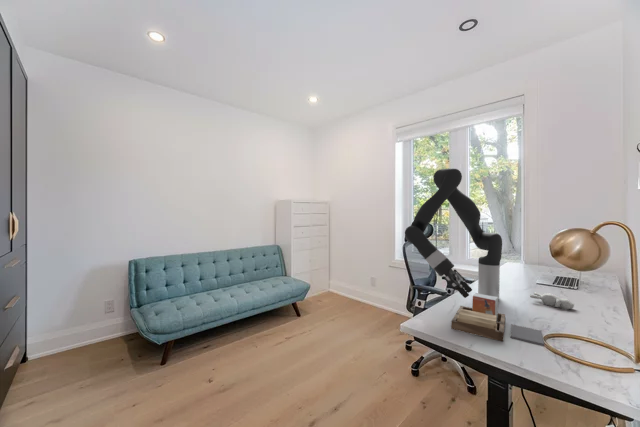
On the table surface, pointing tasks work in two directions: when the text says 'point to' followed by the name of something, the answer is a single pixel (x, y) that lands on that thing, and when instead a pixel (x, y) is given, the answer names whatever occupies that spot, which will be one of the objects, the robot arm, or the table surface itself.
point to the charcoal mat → (527, 334)
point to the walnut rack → (480, 330)
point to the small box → (485, 304)
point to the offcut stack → (477, 319)
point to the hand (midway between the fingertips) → (468, 293)
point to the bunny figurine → (553, 300)
